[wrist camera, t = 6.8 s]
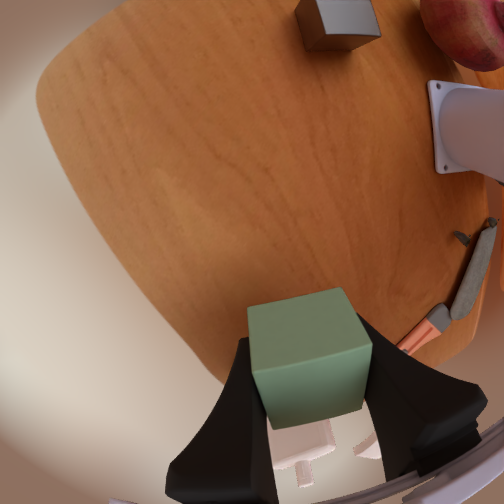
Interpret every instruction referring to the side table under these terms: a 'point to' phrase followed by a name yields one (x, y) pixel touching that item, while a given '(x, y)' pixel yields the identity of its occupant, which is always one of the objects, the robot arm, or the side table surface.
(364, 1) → the dark brown block
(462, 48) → the fruit
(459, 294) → the stone
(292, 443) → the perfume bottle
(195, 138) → the side table surface
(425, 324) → the utility knife
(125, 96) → the side table surface
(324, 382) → the sage green cube
